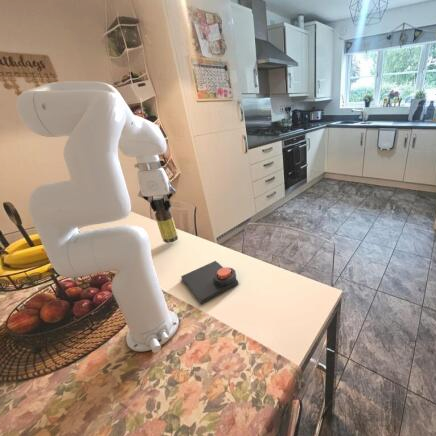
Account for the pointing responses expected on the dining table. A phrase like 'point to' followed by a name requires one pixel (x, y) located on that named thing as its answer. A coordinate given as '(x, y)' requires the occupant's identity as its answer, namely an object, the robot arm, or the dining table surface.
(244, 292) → the dining table surface
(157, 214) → the sauce bottle
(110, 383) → the dining table surface
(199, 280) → the black flat block
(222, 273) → the button
